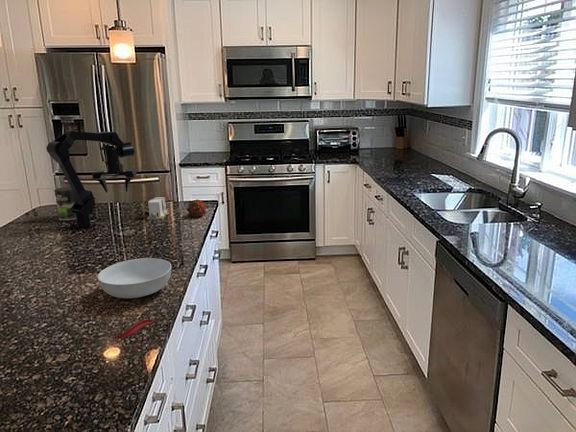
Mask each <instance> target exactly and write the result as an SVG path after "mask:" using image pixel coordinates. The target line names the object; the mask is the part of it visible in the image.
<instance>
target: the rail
mask: <svg viewBox="0 0 576 432" xmlns="http://www.w3.org/2000/svg"><path fill="white" fill-rule="evenodd" d="M156 199H161V201H162V211H163V214H162V215H161V217H158V213H153V214H152V215H153V216H152V217H150V215H148V216H147V217H146V221H161V220H164V218H165V217H166V215H167V213H169V208H166V207H167V205H166V197H165V196H164V197H162V196H161V197H160V196H159V197H157V196H156V197H154V198H153V199H152V200H156Z"/></svg>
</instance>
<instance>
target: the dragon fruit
mask: <svg viewBox="0 0 576 432" xmlns="http://www.w3.org/2000/svg"><path fill="white" fill-rule="evenodd" d="M206 210H207V205H206V203H205V202H204V201H202V200H201V199H195V200H193V201H190V203H189V204H188V207H187V208H186V211H187V212H188V214H190V215H191V216H192V217H197V218H200V217H201V216H204V215H205V214H206V212H207V211H206Z"/></svg>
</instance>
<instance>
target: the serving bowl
mask: <svg viewBox="0 0 576 432" xmlns="http://www.w3.org/2000/svg"><path fill="white" fill-rule="evenodd" d="M171 274H172V264H171V262H170V261H167V260H165V259H161V258H154V257H153V258H152V257H143V258H142V257H141V258H135V259H128V260H123V261H120V262H117V263H114V264H112V265H109V266H107V267H106V268H104V269H102V270H101V271H100V272H99V273H98V275H97V280H98V284H99V286H100V287H101V289H102V290H103V291H104V293H106V294H107V295H110V296H112V297H115V298H118V299H137V298H143V297H146V296H149V295H152V294H154V293H156V292H159V291H160V290H161V289H162V288H164V287H165V286H166V285H167V283H168V282H169V280H170V279H171Z"/></svg>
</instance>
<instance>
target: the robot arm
mask: <svg viewBox="0 0 576 432" xmlns="http://www.w3.org/2000/svg"><path fill="white" fill-rule="evenodd" d="M77 140H78V141H88V142H89V141H90V142H91V141H92V142H98V143H99V144H103V145H102V146H101V147H100V151H105V152H104V154H105V155H104V156H105V165H106V168H107V171H106V172H105V170H96V171H94V172H92V180H94V179H95V181H97V182H98V183H99V184H100V185H101V187H102V189H103V190H104V192H105V193H108V189H109V188H108V186H107V181H106V179H107V178H106V177H117V176H118V177H121V176H122V177H123V176H125V178H124V183H125V185H124V186H125V191H126V193H127V192H129V186H130V182H131V180H132V179H133V178H135V177H136V176H137V170H136V169H132V168H131V169H126V170H125V171H124V164H122V163H121V160H120V158H129V157H134V155H135V149H134V146H133V145H132V143H131V142H130V141H126V142H123V141H122V140H121V138H120V137H119V134H118V133H117V132H116V131H100V132H89V131H76V130H71V129H69V130H65V132H63V133H62V134H61V135H59V136H58V137H57V138H55V139H54V140H52V141H50V142H49V143H48V144H47V146H46V148H45V149H46V152H47V153H48V155H49V156H50V157H51V159H53V160H54V161H55V162H56V163H57V164H58V166H59V168H60V170H61V171H62V173H63V175H64V176H65V179H66V181H67V183H68V185H69V187H71V188H72V190H73V193H74V201H75V203H74V205H73V206H72V207H71V211H72V213H76V219H75V220H76V226H74V229H88V228H89V229H90V228H91V227H92V226H93V225H94V224H95V223H94V222H92V221H91V215H90V214H93V211H94V207H95V204H96V197H95V196H94V195H93V192H92V191H91V190H87V189H85V187H84V185H83V184H82V181H81V179H80V177H79V176H78V173H77V172H76V170H75V168H74V166H73V163H72V162H71V157H70V156H71V154H70V149H71V148H72V146H73V144H74V143H75V141H77Z"/></svg>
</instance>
